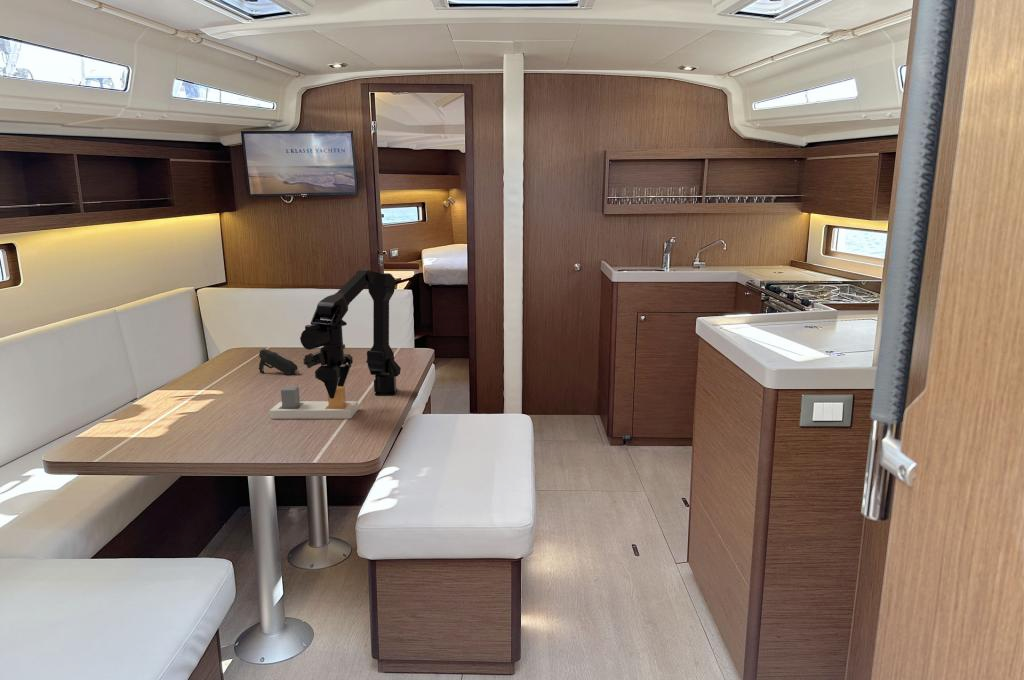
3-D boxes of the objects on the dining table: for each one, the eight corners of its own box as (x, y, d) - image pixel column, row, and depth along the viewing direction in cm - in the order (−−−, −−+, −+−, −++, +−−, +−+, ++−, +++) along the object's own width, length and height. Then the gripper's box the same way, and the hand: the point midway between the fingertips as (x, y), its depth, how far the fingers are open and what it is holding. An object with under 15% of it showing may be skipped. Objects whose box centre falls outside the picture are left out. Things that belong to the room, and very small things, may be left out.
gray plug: (300, 411, 209) (298, 386, 207) (296, 415, 205) (294, 390, 204) (287, 411, 209) (285, 386, 208) (283, 416, 205) (280, 390, 204)
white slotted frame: (358, 409, 211) (357, 401, 210) (350, 418, 202) (350, 410, 202) (280, 409, 212) (280, 401, 211) (269, 418, 203) (269, 410, 202)
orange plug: (346, 411, 209) (344, 386, 207) (342, 415, 205) (341, 390, 203) (333, 411, 209) (331, 386, 207) (329, 415, 205) (327, 390, 203)
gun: (289, 390, 253) (299, 367, 250) (251, 369, 254) (261, 346, 251) (293, 388, 255) (302, 365, 253) (256, 367, 257) (265, 344, 254)
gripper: (315, 336, 211) (319, 385, 215) (295, 349, 193) (299, 403, 196) (351, 336, 211) (354, 385, 214) (334, 349, 193) (337, 403, 196)
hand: (336, 393), depth 205 cm, fingers open, 9 cm apart
